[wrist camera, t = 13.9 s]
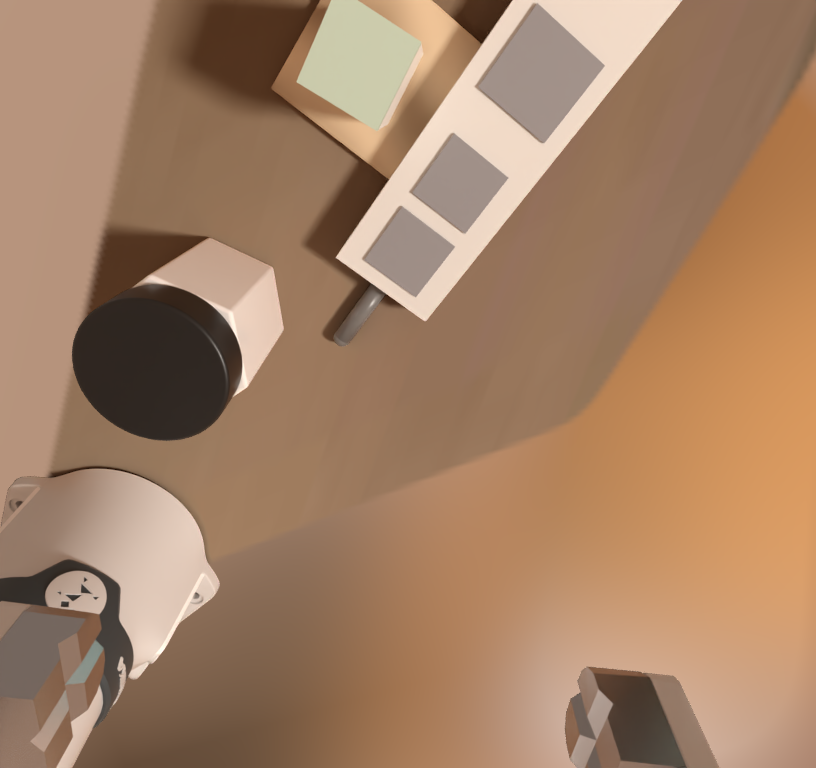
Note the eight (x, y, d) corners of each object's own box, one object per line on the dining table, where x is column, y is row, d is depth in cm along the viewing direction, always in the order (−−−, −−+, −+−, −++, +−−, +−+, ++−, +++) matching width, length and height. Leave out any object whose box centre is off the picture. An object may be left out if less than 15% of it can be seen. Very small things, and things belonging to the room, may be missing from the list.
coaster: (396, 183, 37) (395, 184, 36) (273, 88, 35) (270, 88, 34) (487, 51, 34) (488, 50, 33) (358, -63, 32) (357, -66, 31)
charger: (387, 124, 35) (376, 131, 28) (324, 85, 34) (296, 81, 27) (423, 54, 33) (421, 41, 26) (357, 11, 33) (337, -14, 25)
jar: (146, 324, 42) (47, 403, 31) (178, 219, 38) (79, 266, 28) (264, 375, 43) (209, 468, 32) (305, 278, 40) (258, 345, 29)
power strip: (379, 368, 43) (375, 385, 40) (297, 312, 41) (288, 326, 38) (694, -31, 32) (717, -42, 29) (599, -128, 30) (615, -149, 28)
